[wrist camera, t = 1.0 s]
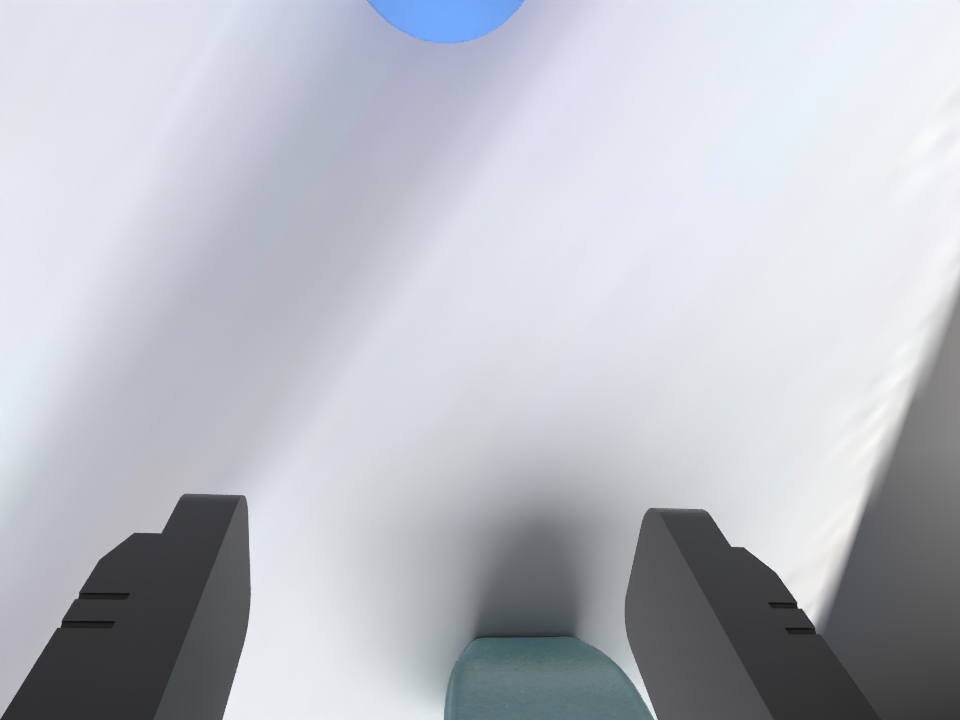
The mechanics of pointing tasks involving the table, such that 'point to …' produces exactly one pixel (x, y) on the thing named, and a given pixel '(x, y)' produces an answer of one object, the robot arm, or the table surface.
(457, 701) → the flower pot
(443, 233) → the table surface
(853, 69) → the table surface
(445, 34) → the ball
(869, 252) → the table surface
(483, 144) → the table surface
